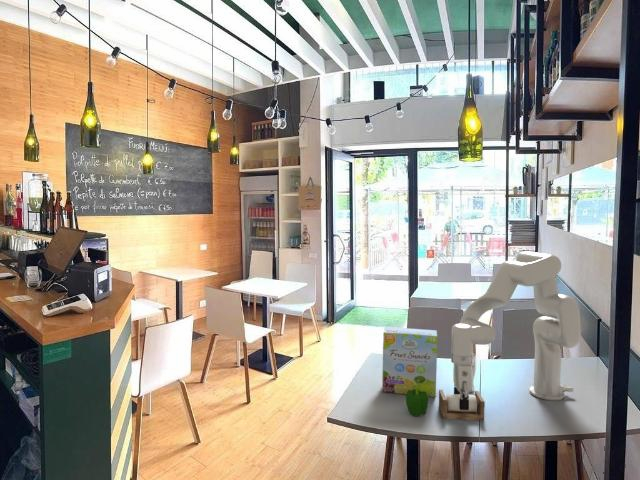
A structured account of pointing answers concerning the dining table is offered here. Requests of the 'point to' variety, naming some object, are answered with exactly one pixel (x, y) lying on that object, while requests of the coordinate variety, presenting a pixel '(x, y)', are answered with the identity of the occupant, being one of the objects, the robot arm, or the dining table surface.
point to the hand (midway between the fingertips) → (461, 403)
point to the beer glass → (473, 370)
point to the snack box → (409, 360)
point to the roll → (454, 403)
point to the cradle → (462, 415)
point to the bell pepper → (417, 401)
